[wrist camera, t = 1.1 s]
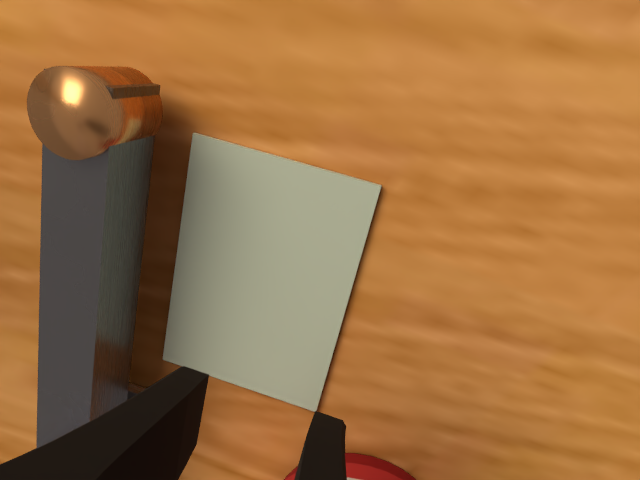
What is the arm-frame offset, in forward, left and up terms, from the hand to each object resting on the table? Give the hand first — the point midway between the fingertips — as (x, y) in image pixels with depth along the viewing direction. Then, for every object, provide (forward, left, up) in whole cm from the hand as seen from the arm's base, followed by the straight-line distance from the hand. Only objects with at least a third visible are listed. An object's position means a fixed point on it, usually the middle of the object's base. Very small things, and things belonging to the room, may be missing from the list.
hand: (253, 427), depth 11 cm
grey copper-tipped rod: (-3, +8, -7) cm, 11 cm away
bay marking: (-1, +3, -8) cm, 9 cm away
